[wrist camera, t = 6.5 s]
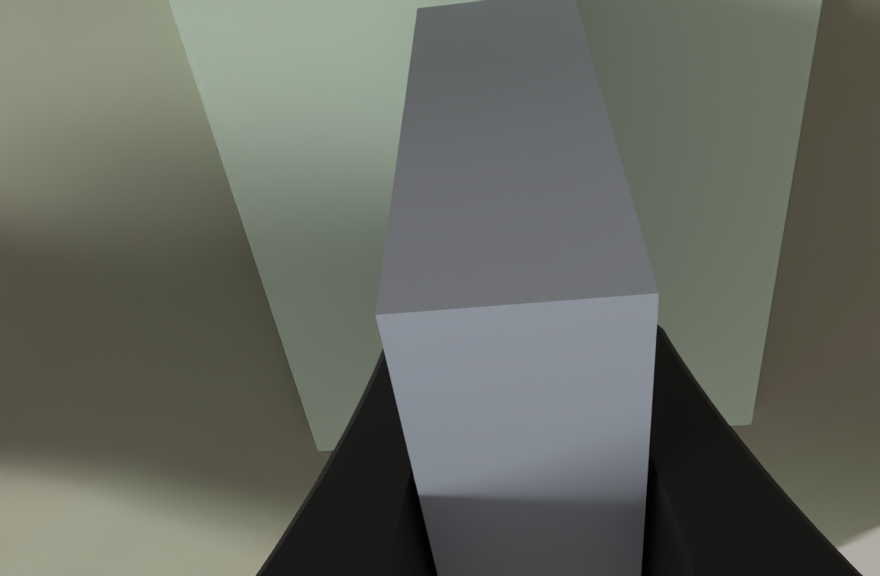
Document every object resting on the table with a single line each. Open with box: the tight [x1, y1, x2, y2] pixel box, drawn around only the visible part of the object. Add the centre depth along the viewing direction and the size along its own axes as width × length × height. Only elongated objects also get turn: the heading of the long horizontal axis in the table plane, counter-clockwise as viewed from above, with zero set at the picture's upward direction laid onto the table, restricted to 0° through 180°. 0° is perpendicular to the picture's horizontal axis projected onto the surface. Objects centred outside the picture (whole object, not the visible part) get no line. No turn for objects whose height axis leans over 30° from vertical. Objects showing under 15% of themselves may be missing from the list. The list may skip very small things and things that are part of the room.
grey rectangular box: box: [376, 0, 659, 576], centre depth 10 cm, size 2×8×6 cm, turn 7°
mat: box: [168, 0, 822, 451], centre depth 13 cm, size 9×11×1 cm
